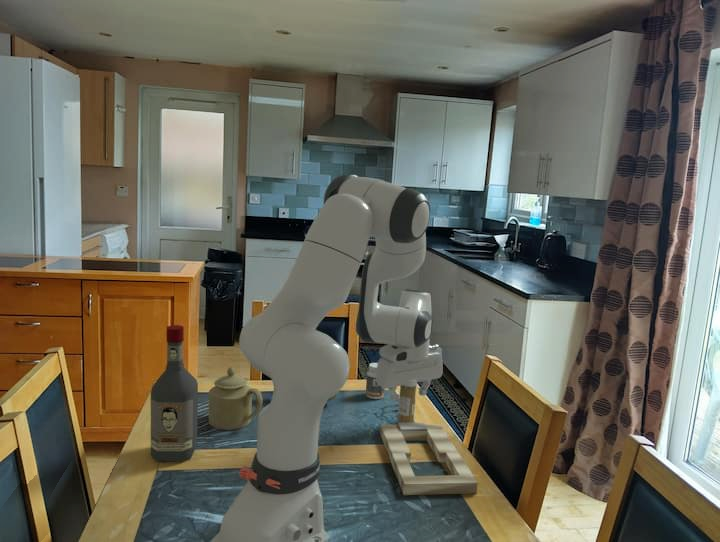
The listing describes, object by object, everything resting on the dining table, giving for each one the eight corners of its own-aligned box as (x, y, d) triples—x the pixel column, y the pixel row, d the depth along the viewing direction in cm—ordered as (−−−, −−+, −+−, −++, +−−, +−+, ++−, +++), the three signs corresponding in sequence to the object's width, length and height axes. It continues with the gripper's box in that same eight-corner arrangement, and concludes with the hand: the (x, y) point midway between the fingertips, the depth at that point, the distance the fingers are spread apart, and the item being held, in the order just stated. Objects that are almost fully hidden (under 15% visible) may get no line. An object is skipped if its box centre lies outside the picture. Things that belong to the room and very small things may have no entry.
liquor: (159, 443, 128) (159, 321, 124) (198, 444, 129) (200, 322, 125) (148, 463, 119) (147, 332, 115) (190, 463, 120) (192, 333, 116)
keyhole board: (476, 493, 116) (477, 479, 115) (403, 495, 113) (404, 481, 113) (439, 433, 143) (440, 422, 142) (379, 433, 140) (380, 422, 140)
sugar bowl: (269, 415, 148) (271, 362, 145) (260, 433, 137) (261, 376, 134) (216, 410, 148) (217, 358, 146) (202, 428, 137) (203, 372, 135)
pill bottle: (385, 399, 163) (388, 368, 161) (367, 399, 162) (369, 368, 160) (382, 392, 169) (384, 362, 167) (363, 392, 168) (365, 361, 166)
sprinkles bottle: (417, 425, 146) (420, 378, 144) (403, 429, 144) (407, 381, 142) (406, 419, 150) (410, 373, 148) (393, 422, 148) (397, 375, 146)
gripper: (434, 340, 152) (431, 387, 154) (374, 349, 141) (371, 399, 143) (449, 347, 147) (445, 395, 149) (388, 357, 136) (384, 408, 138)
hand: (408, 397), depth 146 cm, fingers open, 8 cm apart
